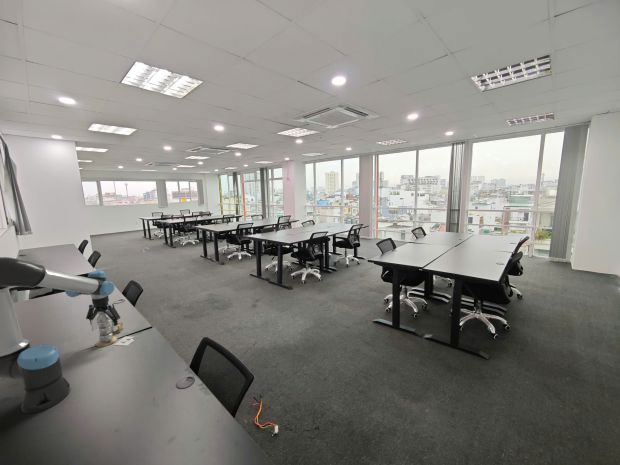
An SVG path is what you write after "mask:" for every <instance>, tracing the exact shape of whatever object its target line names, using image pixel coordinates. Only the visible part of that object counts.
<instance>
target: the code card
mask: <svg viewBox="0 0 620 465" xmlns="http://www.w3.org/2000/svg"><path fill="white" fill-rule="evenodd" d="M133 337H134V336H124V337H122V338H120V340H118V341H116V342H114V343H113V346H123V347H124V346H125V347H126V346H129V345H130V344H133V342H134V341H135V340H133V339H132V338H133Z"/></svg>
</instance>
